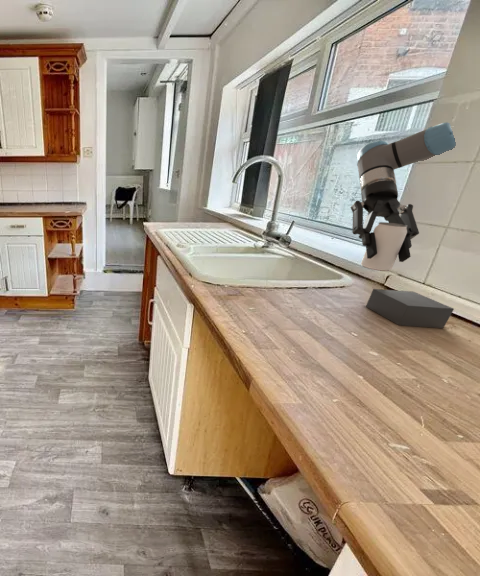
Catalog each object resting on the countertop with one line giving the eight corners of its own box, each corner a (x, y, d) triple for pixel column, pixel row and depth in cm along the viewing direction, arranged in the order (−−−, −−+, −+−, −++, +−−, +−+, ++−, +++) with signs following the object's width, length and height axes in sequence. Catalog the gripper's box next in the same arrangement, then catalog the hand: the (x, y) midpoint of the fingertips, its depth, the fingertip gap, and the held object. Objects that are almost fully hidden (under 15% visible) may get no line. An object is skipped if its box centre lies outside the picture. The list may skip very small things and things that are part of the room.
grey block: (404, 309, 79) (413, 291, 77) (443, 328, 70) (454, 308, 68) (365, 306, 79) (373, 288, 78) (398, 325, 70) (408, 305, 68)
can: (387, 267, 85) (406, 224, 81) (393, 273, 80) (413, 227, 75) (358, 262, 88) (374, 221, 84) (362, 268, 83) (379, 224, 79)
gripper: (408, 199, 89) (422, 269, 80) (332, 195, 94) (337, 260, 85) (429, 181, 82) (446, 254, 74) (346, 177, 87) (353, 245, 78)
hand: (388, 257), depth 79 cm, fingers closed on can, 6 cm apart
